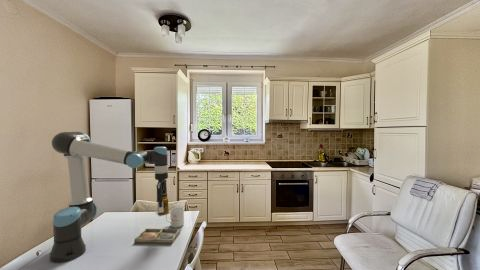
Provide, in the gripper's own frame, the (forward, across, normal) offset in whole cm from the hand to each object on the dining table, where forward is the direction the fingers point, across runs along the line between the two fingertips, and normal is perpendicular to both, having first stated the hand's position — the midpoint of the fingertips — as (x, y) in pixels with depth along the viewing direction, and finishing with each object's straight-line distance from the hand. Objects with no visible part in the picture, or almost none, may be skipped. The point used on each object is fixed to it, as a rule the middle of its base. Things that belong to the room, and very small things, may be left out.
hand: (162, 210), depth 139 cm
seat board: (+16, -1, +3) cm, 17 cm away
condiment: (+2, +1, 0) cm, 2 cm away
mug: (+17, +16, -4) cm, 24 cm away
